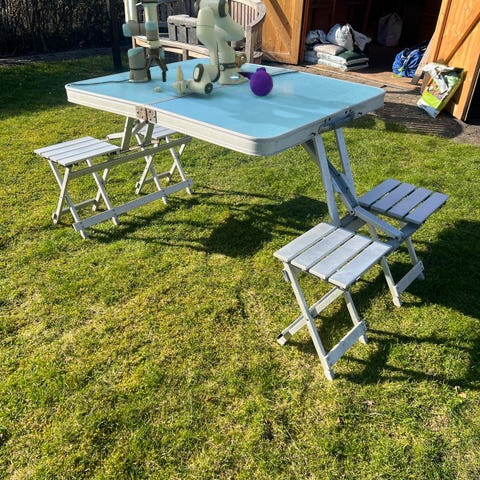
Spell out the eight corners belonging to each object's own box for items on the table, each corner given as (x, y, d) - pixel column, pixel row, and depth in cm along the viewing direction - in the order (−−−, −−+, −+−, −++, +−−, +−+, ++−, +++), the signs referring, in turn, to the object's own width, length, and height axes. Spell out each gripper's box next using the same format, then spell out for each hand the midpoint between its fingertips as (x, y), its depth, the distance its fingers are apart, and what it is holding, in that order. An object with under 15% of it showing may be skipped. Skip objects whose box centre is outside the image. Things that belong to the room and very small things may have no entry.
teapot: (227, 72, 361) (226, 52, 354) (220, 70, 370) (219, 51, 362) (250, 70, 371) (249, 50, 363) (242, 68, 379) (242, 48, 372)
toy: (257, 88, 307) (273, 101, 287) (234, 84, 300) (248, 97, 279) (264, 65, 299) (280, 76, 279) (240, 59, 292) (255, 71, 271)
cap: (154, 91, 307) (153, 88, 306) (156, 90, 310) (156, 87, 309) (159, 91, 306) (158, 88, 305) (161, 90, 309) (161, 87, 308)
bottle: (184, 91, 304) (182, 64, 296) (185, 93, 300) (182, 65, 291) (177, 92, 304) (175, 64, 295) (177, 93, 300) (175, 66, 291)
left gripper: (135, 46, 297) (139, 79, 309) (163, 49, 286) (167, 84, 297) (143, 45, 303) (147, 77, 314) (171, 48, 291) (174, 81, 302)
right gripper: (204, 77, 295) (191, 75, 304) (180, 82, 283) (166, 79, 291) (205, 87, 299) (191, 84, 307) (181, 92, 286) (167, 89, 295)
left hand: (157, 81), depth 305 cm, fingers open, 13 cm apart
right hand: (179, 82), depth 299 cm, fingers closed on bottle, 5 cm apart
